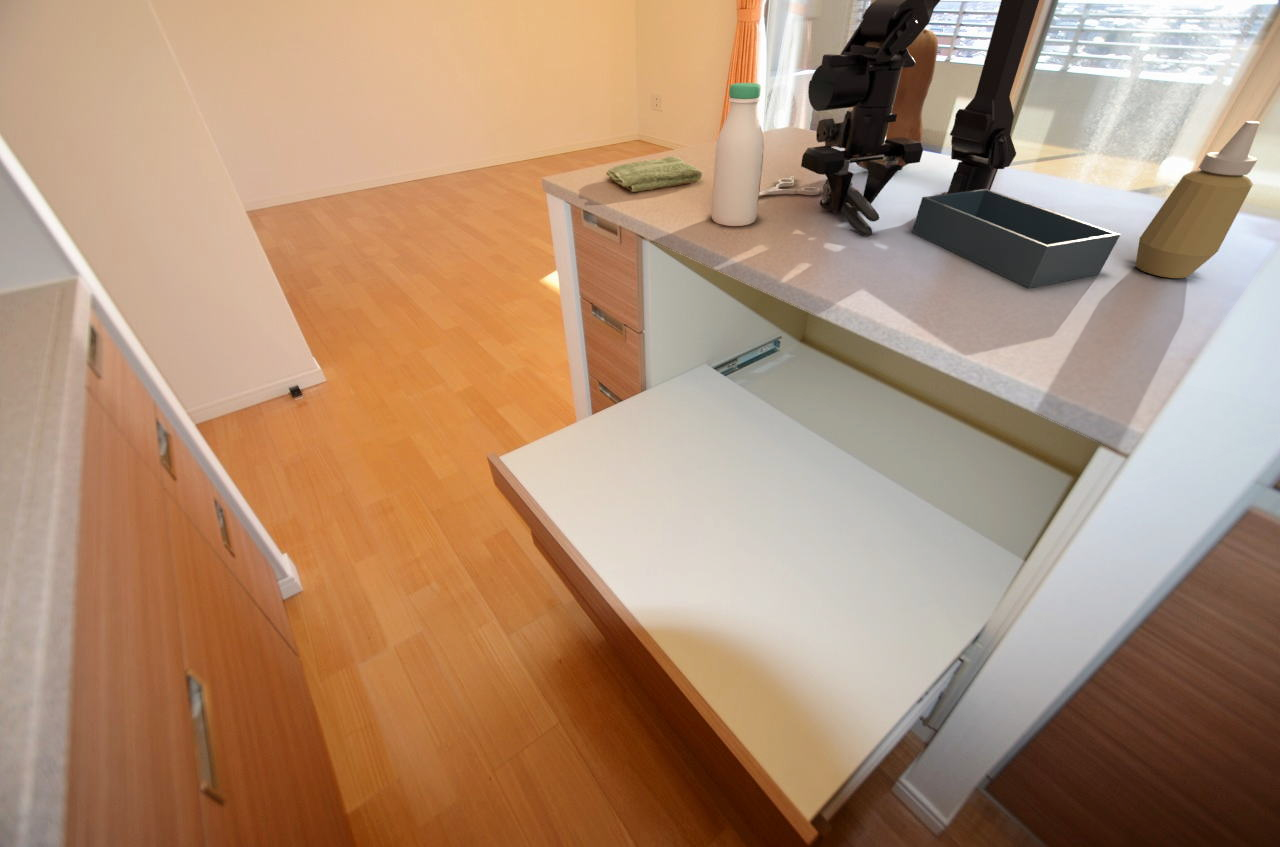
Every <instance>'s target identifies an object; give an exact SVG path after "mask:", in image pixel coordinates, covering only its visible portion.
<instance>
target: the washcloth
mask: <svg viewBox="0 0 1280 847" xmlns="http://www.w3.org/2000/svg"><path fill="white" fill-rule="evenodd" d="M606 176H609V179H610V180H613V182H614V183H616V184H618V185H620V186H621V187H623V188H626V189H627V190H629V191H630V192H631V193H639V192H643V191H653V190H654V189H657V190H658V189H664V188H669V187H675V186H681V185H687V184H689V185H690V184H692V183H697V182H698V181H700V180H701V179H702V177H703V172H702V170H701V169H698V168H697V167H695V166H693V165H692V164H689V163H687V162H685V160H684V159H682V158H680V157H678V156H676V155H670V156H666V157H663V158H658V159H648V160H643V161H636V162H635V161H634V162H631V163H630V162H627V163H625V164H620V165H615V166H613V167H611V168H610V169H608V170H607V171H606Z"/></svg>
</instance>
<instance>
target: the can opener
mask: <svg viewBox="0 0 1280 847" xmlns="http://www.w3.org/2000/svg"><path fill="white" fill-rule="evenodd" d="M821 190H822V196H821V199H820V200H819V206H820V207H821V208H822V209H824V210H827V211H829V212H834V209H833V202H832V196H831V190H830V185H829V182H828V179H826V180H825V182H824V183H823V184H822V189H821ZM859 212H860V214H861V215H863V216H864V217H865V219H866V220H868V221H869V222H872V223H873V222H877V221H879V220H880V215H879V213H878V212H877V210H876V209H875V207H874V206H873V205H872V203H871V204H870V203H869V202H868V201H867V199H866V198H865V197H864V196H863V194H862V193H861V192H860V191H859V190H858V189H857V188H855V187H854V186H853V182H852V181H851V183H850V186H849V189H848V192H847V195H846V198H845V201H844V204H843V206H842V209H841V211H840V214H841V215H842V216H843V218H844V219H845V221H846V222H847V223H848V224H849V225H850V226H851V227H852V228H853V229H854V230H855V231H856V232H858V233H859V234H861V235H862V236H866V237H868V236H871V235H873V229H872V228H871V226H870V225H869V223H868V222H867V221H866V220H865V219H864V218H863V217H862V216H861V215H860V214H859Z"/></svg>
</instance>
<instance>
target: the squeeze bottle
mask: <svg viewBox="0 0 1280 847" xmlns="http://www.w3.org/2000/svg"><path fill="white" fill-rule="evenodd" d="M1260 123H1261V122H1260V121H1257V120H1256V121H1255V120H1246V121H1245V122H1244V124H1243V125H1242V126H1241V127H1239V129H1238V130H1237V131H1236V132H1235V134H1233V136H1232V137H1231V138H1230V139H1229V140H1228V142H1226V144H1225V145H1224V146H1223V147H1222V148H1221V149H1220V151H1219V152H1218V151H1213V152H1212V151H1211V152H1208V153H1206V154H1205V156H1204V158H1202V161H1201V163H1200V164H1199V166H1198V168H1199V169H1197V170H1193V171H1190V172H1187V173H1185V174H1184V175H1183V176H1182V177H1181V179H1180V180H1179V182H1178V183H1177V184H1176V186H1175V187H1174V188H1173V190H1172V191H1171V193H1170V194H1169V195H1168V197H1167V199H1166V200H1165V201H1164V202H1163V204H1162V205H1161V207H1160V209H1159V210H1158V212H1157V213H1156V214H1155V215H1154V217H1153V218H1152V220H1151V221H1150V223H1149V224H1148V226H1147V227H1146V228H1145V230H1144V231H1143V233H1142V234H1141V236H1140V237H1139V240H1138V246H1137V253H1136V260H1135V267H1136V268H1137V269H1139V270H1140V271H1142V272H1145V273H1147V274H1150V275H1154V276H1157V277H1161V278H1162V277H1163V278H1169V279H1184V278H1185V279H1186V278H1189V276H1190V275H1192V274H1193V273H1195V272H1196V271H1197V270H1198V269H1199V268H1200V267H1202V266H1203V265H1204V264H1205V263H1206V262H1207V261H1209V260H1210V259H1211V258H1212V257H1213V256H1215V255H1216V254H1217V253H1218V252H1219V250H1220V248H1221V246H1222V244H1223V243H1224V240H1225V238H1226V237H1227V235H1228V233H1229V231H1230V230H1231V228H1232V225H1233V223H1234V221H1235V220H1236V218H1237V216H1238V214H1239V212H1240V211H1241V208H1242V206H1243V204H1244V202H1245V200H1246V199H1247V197H1248V194H1249V193H1250V191H1251V189H1252V188H1253V185H1254V184H1253V181H1252V180H1251V178H1249V177H1248V176H1247V175H1248V174H1250V173H1251V171H1252V170H1253V168H1254V166H1255V165H1256V163H1257V161H1258V158H1257V157H1255V156H1253V155H1249V154H1250V151H1251V148H1252V145H1253V143H1254V140H1255V137H1256V134H1257V133H1258V129H1259V126H1260Z"/></svg>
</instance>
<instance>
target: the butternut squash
mask: <svg viewBox="0 0 1280 847" xmlns="http://www.w3.org/2000/svg"><path fill="white" fill-rule="evenodd" d="M907 49H908V52H909V54H910V56H911V57H912V58H913V59H914V61H915V66H914V67H910V68H902V71H901V75H900V80H899V84H898V88H897V92H896V97H895V101H894V105H893V110H892V113H895V114H897V118H896V122H889V127H888V131H887V135H886V139H890V138H899V137H904V138H907V139H911V140H914V141H918V142H921V144H922V143H923V139H924V138H923V137H924V126H923V108H924V104H925V101H926V98H927V95H928V93H929V90H930V87H931V84H932V81H933V78H934V74H935V70H936V62H937V56H938V51H939V50H938V49H939V41H938V37H937V35H936V34H935V33H934V32H933V31H932V30H930V29H926V28H924V30H923V31H922V32H921V33H920V35H919V36H918V37H917V38H916V40H915V41H914V42H913V43H912V44H911V46H909V47H908V48H907ZM867 155H871V154H867ZM855 156H858V155H855ZM853 157H854V155H853ZM855 164H856V165H857V166H858V167H860V168H862V169H864V170H867V165H866V161H863V162H855ZM897 164H898V165H901V166H903V168H904V167H905V166H907V165H908V164H904V163H903V161H902V159H901V157H898V163H897Z"/></svg>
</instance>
